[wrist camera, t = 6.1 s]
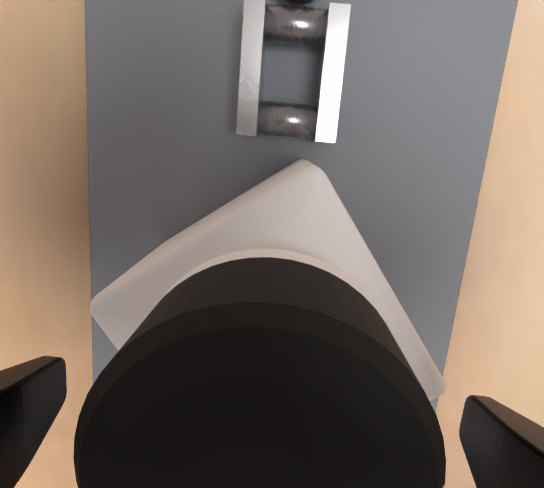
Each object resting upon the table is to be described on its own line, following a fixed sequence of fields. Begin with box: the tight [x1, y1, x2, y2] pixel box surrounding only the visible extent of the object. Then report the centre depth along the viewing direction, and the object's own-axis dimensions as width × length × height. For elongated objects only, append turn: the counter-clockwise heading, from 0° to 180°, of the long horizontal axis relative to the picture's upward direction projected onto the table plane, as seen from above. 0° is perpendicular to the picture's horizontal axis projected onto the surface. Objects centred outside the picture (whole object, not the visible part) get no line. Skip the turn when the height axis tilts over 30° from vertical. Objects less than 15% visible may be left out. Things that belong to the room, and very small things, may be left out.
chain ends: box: [236, 0, 351, 143], centre depth 17 cm, size 29×4×2 cm, turn 175°
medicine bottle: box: [74, 159, 446, 488], centre depth 12 cm, size 7×7×12 cm
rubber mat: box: [85, 0, 518, 411], centre depth 18 cm, size 30×16×1 cm, turn 175°
